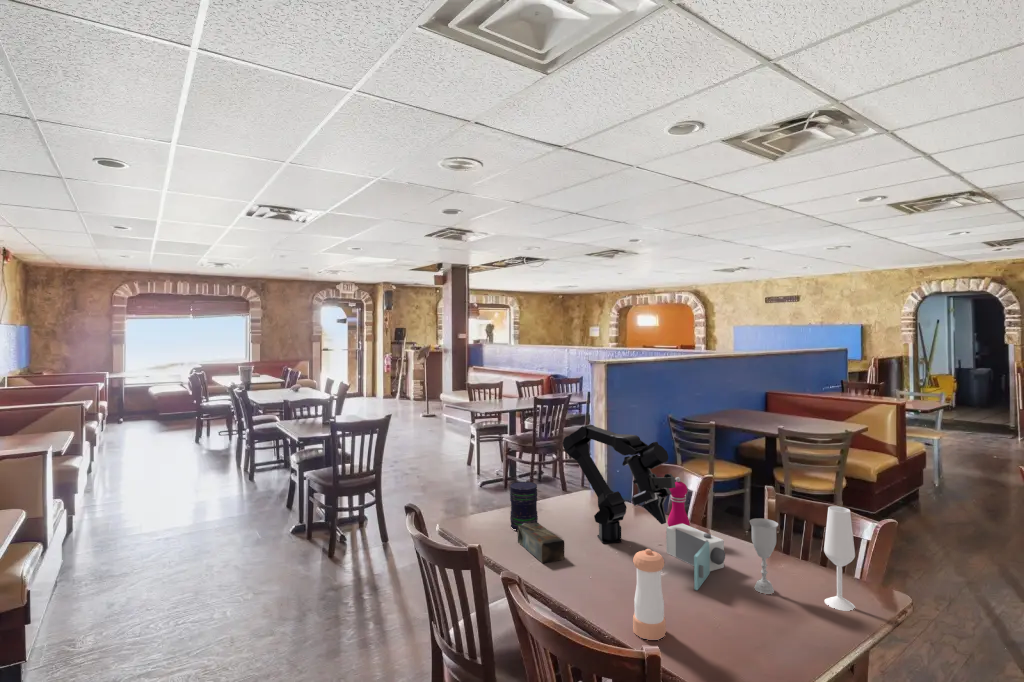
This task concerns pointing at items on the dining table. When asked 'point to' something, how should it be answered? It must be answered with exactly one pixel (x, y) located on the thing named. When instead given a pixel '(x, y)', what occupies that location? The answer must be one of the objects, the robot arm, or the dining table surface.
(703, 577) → the hatch
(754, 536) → the chalice
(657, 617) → the salt shaker
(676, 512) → the pepper mill
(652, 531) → the dining table surface
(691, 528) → the case
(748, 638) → the dining table surface
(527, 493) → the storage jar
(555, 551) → the beverage carton
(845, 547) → the champagne flute
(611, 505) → the robot arm
